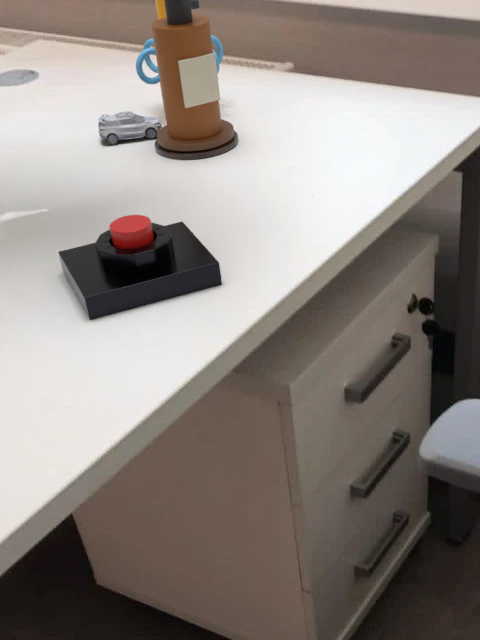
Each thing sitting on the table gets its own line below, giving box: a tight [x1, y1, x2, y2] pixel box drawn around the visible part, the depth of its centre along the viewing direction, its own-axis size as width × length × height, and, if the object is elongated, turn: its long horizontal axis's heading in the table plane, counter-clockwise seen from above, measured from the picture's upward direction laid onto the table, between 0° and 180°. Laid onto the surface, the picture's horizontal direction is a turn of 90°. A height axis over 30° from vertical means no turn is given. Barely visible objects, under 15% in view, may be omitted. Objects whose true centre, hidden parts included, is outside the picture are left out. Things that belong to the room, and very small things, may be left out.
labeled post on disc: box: [150, 0, 235, 151], centre depth 100 cm, size 9×9×19 cm
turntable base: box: [154, 130, 239, 160], centre depth 106 cm, size 10×10×1 cm
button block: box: [58, 221, 223, 321], centre depth 79 cm, size 12×10×4 cm
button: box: [109, 214, 154, 249], centre depth 77 cm, size 4×4×2 cm
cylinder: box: [135, 0, 224, 113], centre depth 111 cm, size 12×10×15 cm
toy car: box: [98, 110, 164, 146], centre depth 108 cm, size 4×8×3 cm, turn 105°
